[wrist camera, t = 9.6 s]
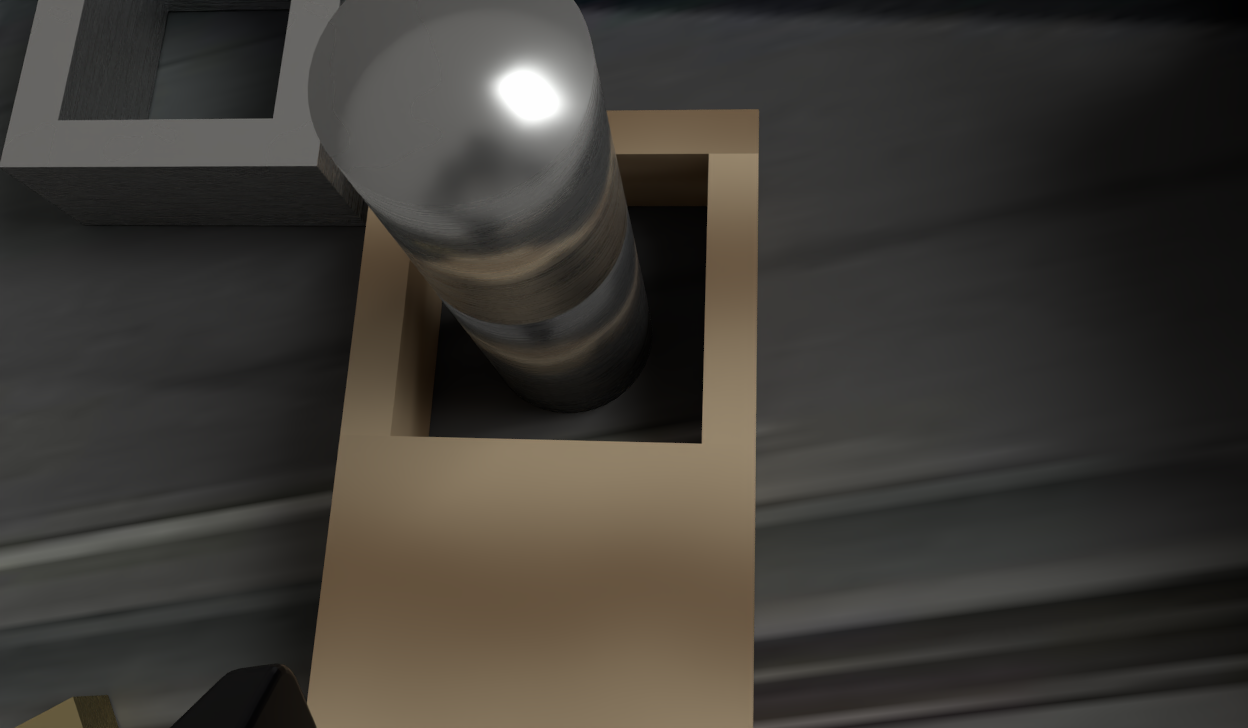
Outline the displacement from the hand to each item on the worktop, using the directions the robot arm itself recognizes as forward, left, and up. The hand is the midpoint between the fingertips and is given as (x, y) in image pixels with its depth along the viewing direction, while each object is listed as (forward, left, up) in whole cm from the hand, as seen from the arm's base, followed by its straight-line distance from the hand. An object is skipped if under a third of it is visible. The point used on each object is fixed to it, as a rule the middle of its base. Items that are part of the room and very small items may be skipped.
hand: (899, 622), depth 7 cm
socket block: (+13, +13, -14) cm, 23 cm away
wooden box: (+4, +5, -14) cm, 15 cm away
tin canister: (+7, +5, -14) cm, 16 cm away
